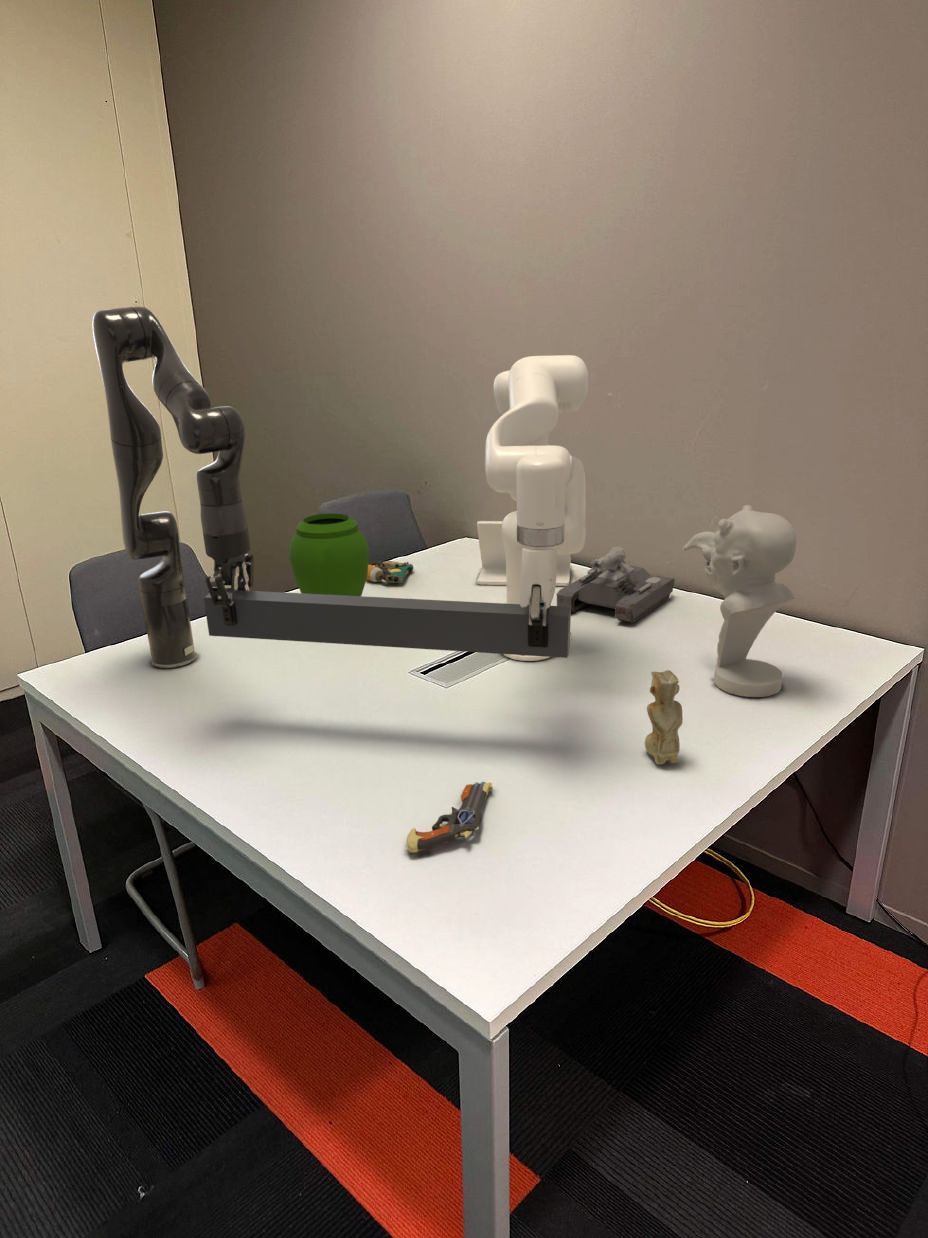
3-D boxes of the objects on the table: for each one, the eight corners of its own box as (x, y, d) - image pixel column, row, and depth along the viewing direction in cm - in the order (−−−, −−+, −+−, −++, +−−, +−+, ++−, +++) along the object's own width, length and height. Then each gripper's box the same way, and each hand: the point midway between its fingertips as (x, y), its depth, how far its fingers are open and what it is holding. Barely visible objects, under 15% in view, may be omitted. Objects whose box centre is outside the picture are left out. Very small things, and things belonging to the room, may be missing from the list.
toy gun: (402, 841, 119) (471, 840, 117) (431, 778, 137) (492, 776, 135) (405, 858, 120) (474, 857, 118) (434, 793, 138) (494, 791, 136)
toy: (603, 584, 229) (605, 530, 224) (673, 597, 218) (677, 540, 213) (555, 612, 210) (556, 553, 205) (630, 627, 199) (633, 566, 194)
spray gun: (382, 568, 251) (427, 575, 245) (352, 581, 237) (399, 589, 231) (382, 554, 250) (427, 560, 244) (351, 566, 235) (399, 574, 230)
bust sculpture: (716, 647, 187) (729, 489, 174) (804, 687, 167) (826, 512, 154) (658, 663, 180) (668, 499, 167) (743, 707, 160) (761, 525, 147)
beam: (570, 647, 144) (570, 606, 141) (567, 658, 140) (568, 616, 137) (220, 626, 156) (215, 588, 154) (209, 635, 152) (203, 597, 150)
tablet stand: (569, 585, 229) (570, 524, 223) (476, 584, 232) (475, 523, 226) (570, 566, 246) (571, 508, 240) (484, 564, 249) (483, 507, 243)
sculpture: (673, 746, 147) (678, 666, 142) (685, 767, 140) (691, 684, 135) (639, 747, 147) (643, 667, 141) (650, 769, 140) (654, 686, 135)
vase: (389, 608, 216) (383, 514, 208) (339, 633, 201) (330, 533, 192) (330, 596, 226) (322, 506, 218) (278, 619, 211) (267, 523, 202)
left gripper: (224, 515, 153) (236, 604, 160) (184, 538, 140) (198, 633, 147) (262, 516, 152) (273, 606, 158) (226, 539, 139) (239, 636, 145)
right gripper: (524, 519, 144) (524, 620, 150) (508, 549, 128) (509, 660, 135) (569, 520, 142) (567, 622, 149) (558, 551, 127) (557, 662, 134)
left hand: (237, 618), depth 153 cm, fingers closed on beam, 4 cm apart
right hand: (540, 639), depth 142 cm, fingers closed on beam, 4 cm apart
